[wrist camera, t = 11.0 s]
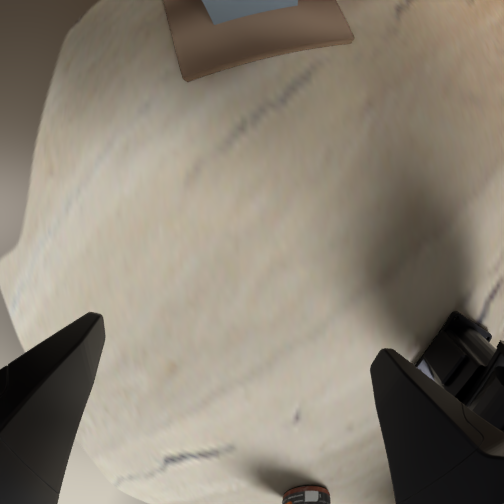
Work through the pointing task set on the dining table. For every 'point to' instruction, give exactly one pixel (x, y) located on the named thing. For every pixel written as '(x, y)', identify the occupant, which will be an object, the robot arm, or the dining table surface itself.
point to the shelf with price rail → (250, 34)
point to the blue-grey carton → (242, 8)
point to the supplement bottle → (307, 495)
